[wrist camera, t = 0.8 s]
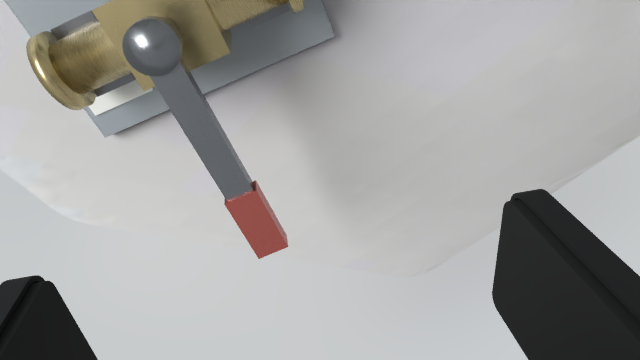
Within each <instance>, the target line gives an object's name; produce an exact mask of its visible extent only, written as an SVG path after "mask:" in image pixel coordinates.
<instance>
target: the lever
mask: <svg viewBox="0 0 640 360" xmlns="http://www.w3.org/2000/svg"><path fill="white" fill-rule="evenodd" d="M122 48H123V53H124V55H125V58H126V59H127V61H128V63H129V64H130V65H131V66H132V67H133V68H134V69H135V70H137V71H138V72H140V73H142V74H144V75H148V76H150V78H151V80H152V81H153V83H154V84H155V86H156V88H157V89H158V91H159V92H160V94H161V96H162V97H163V99H164V100H165V102H166V104H167V105H168V107H169V108H170V110H171V112H172V113H173V115H174V117H175V118H176V120H177V121H178V123H179V125H180V126H181V128H182V129H183V131H184V133H185V134H186V136H187V137H188V139H189V141H190V142H191V144H192V145H193V147H194V149H195V150H196V152H197V153H198V155H199V157H200V158H201V160H202V162H203V163H204V165H205V166H206V168H207V170H208V171H209V173H210V174H211V176H212V178H213V179H214V181H215V182H216V184H217V186H218V187H219V189H220V190H221V192H222V194H223V195H224V197H225V206H226V207H227V209H228V210H229V212H230V214H231V215H232V217H233V218H234V220H235V222H236V223H237V225H238V226H239V228H240V230H241V231H242V233H243V234H244V236H245V237H246V239H247V241H248V242H249V244H250V245H251V247H252V249H253V250H254V252H255V253H256V255H257V257H258V258H259V259H260V258H262V257H264V256H267V255H269V254H272V253H274V252H276V251H279V250H281V249H284V248H286V247H288V242H287V235H286V233H285V232H284V230H283V228H282V226H281V224H280V223H279V221H278V219H277V217H276V216H275V214H274V212H273V210H272V208H271V207H270V205H269V203H268V201H267V200H266V198H265V196H264V194H263V192H262V191H261V189H260V187H259V185H258V183H257V182H256V181H253V182H252V180H251V178H250V176H249V175H248V173H247V171H246V169H245V168H244V166H243V164H242V162H241V161H240V159H239V157H238V155H237V154H236V152H235V150H234V148H233V146H232V145H231V143H230V141H229V139H228V138H227V136H226V134H225V132H224V131H223V129H222V127H221V125H220V123H219V122H218V120H217V118H216V116H215V115H214V113H213V111H212V109H211V108H210V106H209V104H208V102H207V101H206V99H205V97H204V95H203V93H202V92H201V90H200V88H199V86H198V85H197V83H196V81H195V79H194V78H193V76H192V74H191V72H190V71H189V69H188V67H187V65H186V63H185V62H184V60H183V58H182V56H181V55H182V52H183V40H182V37H181V35H180V33H179V31H178V29H177V28H176V27H175V26H174V25H173V24H172V23H171V22H169V21H168V20H166V19H164V18H161V17H157V16H147V17H143V18H141V19H139V20H138V21H136V22H135V23H134V24H133V25H132V26H131V27H130V28H129V29H128V30H127V31H126V33H125V35H124V37H123V42H122Z"/></svg>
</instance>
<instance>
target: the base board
mask: <svg viewBox="0 0 640 360" xmlns="http://www.w3.org/2000/svg"><path fill="white" fill-rule="evenodd" d="M4 1H5V2H6V4H7V5H8V6H9V8H10V9H11V11H12V12H13V13H14V15H15V16H16V17H17V19H18V20H19V21H20V23H21V24H22V25H23V27H24V28H25V29H26V31H27V32H28V34H29V35H30V36H31V37H33V36H35V35H37V34H39V33H41V32H44V31H49V32H51V31H50V30H51V29H53V28H55V27H57V26H59V25H60V24H62V23H64V22H66V21H69V20H71V19H73V18H75V17H77V16H79V15H82V14H84V13H86V12H88V11H90V10H92V9H95V8H97V7H99V6H101V5H103V4H105V3H106V2H108V1H110V0H4ZM303 2H304V6H305V9H304V10H302V11H300V12H298V13H295V14H293V12H292V10H291V7H290V5H289V3H287V4H288V6H289V8H290V11H288V12H286V13H284V14H282V15H279V16H277V17H275V18H273V19H270V20H268V21H266V22H264V23H261V24H259V25H257V26H255V27H253V28H250V25H249V23H248V21H246V22H244V23H242V24H239V25H237V26H235V27H233V28H230V29H229V30H230V32H231V34H232V43H231V53H229V54H227V55H224V56H222V57H220V58H218V59H216V60H213V61H211V62H209V63H207V64H204V65H202V66H200V67H198V68H195V69H193V70H191V71H190V72H191V74H192V76H193V78H194V79H195V81H196V83H197V85H198V86H199V88H200V90H201V92H202V93H203V94H205V93H208V92H210V91H212V90H214V89H217V88H219V87H221V86H223V85H226V84H228V83H230V82H233V81H235V80H237V79H239V78H242V77H244V76H246V75H248V74H251V73H253V72H255V71H257V70H260V69H262V68H264V67H267V66H269V65H271V64H273V63H276V62H278V61H280V60H282V59H285V58H287V57H289V56H291V55H294V54H296V53H298V52H301V51H303V50H305V49H307V48H310V47H312V46H314V45H316V44H319V43H321V42H323V41H325V40H328V39H330V38H332V37H335V35H334V33H333V30H332V27H331V24H330V22H329V19H328V16H327V13H326V11H325V8H324V5H323V2H322V0H303ZM84 109H85V111H86V112H87V114H88V115H89V116H90V118H91V119H92V120H93V122H94V123H95V124H96V126H97V127H98V128H99V130H100V131H101V132H102V134H103V135H104V137H105V138H106V137H108V136H110V135H112V134H115V133H117V132H119V131H121V130H124V129H126V128H128V127H130V126H133V125H135V124H137V123H140V122H142V121H144V120H146V119H149V118H151V117H153V116H155V115H158V114H160V113H162V112H164V111H167V110H169V109H170V108H169V107H168V105H167V104H166V102H165V100H164V99H163V97H162V96H161V94H160V92H159V91H158V89H157V88H156V86H155V87H153V88H150V89H148V90H146V91H143V90H142V88H141V86H140V85H139V83H138V82H137V80H134V81H132V82H130V83H128V84H125V85H123V86H121V87H119V88H116V89H114V90H112V91H110V92H107V93H105V94H103V95H101V96H99V97H97V96H96V98H95V101H94V103H93V104H92V105H90V106H87V107H85V108H84Z"/></svg>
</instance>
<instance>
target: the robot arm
mask: <svg viewBox="0 0 640 360" xmlns="http://www.w3.org/2000/svg"><path fill="white" fill-rule="evenodd" d="M492 295H493V301H494V304H495V307H496V309H497V311H498V312H499V314H500V315H501V317H502V318H503V320H504V322H505V323H506V325H507V326H508V328H509V329H510V331H511V333H512V334H513V336H514V337H515V339H516V340H517V342H518V344H519V345H520V347H521V348H522V350H523V352H524V353H525V355H526V356H527V358H528V360H640V276H639V275H638V274H636V273H635V272H634V271H633V270H632V269H631V268H630V267H629V266H628V265H627V264H625V263H624V262H623V261H622V260H621V259H620V258H619V257H618V256H617V255H616V254H615V253H613V252H612V251H611V250H610V249H609V248H608V247H607V246H606V245H605V244H604V243H603V242H602V241H600V240H599V239H598V238H597V237H596V236H595V235H594V234H593V233H592V232H590V230H588V229H587V228H586V227H585V226H584V225H583V224H582V223H581V222H580V221H579V220H577V219H576V218H575V217H574V216H573V215H572V214H571V213H570V212H569V211H568V210H567V209H566V208H564V207H563V206H562V205H561V204H560V203H559V202H558V201H557V200H556V199H554V197H552V196H551V195H550V194H549V193H548V192H547V191H545V190H543V189H538V190H532V191H526V192H520V193H515V194H513V196H512V197H511V200H510V201H508V202H506V203H505V204H504V208H503V215H502V223H501V230H500V238H499V245H498V253H497V261H496V269H495V276H494V283H493V291H492ZM0 360H97V358H96V356H95V354H94V352H93V351H92V349H91V347H90V346H89V344H88V342H87V340H86V339H85V337H84V335H83V333H82V332H81V330H80V328H79V327H78V325H77V323H76V321H75V320H74V318H73V316H72V315H71V313H70V311H69V309H68V308H67V306H66V304H65V303H64V301H63V299H62V297H61V296H60V294H59V292H58V291H57V289H56V287H55V286H54V284H53V283H52V282H50V281H45V280H44V279H43V278H42V277H40V276H29V277H24V278H18V279H12V280H7V281H5V282H3V283H2V284H1V285H0Z"/></svg>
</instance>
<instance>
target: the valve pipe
mask: <svg viewBox="0 0 640 360" xmlns="http://www.w3.org/2000/svg"><path fill="white" fill-rule="evenodd" d="M287 3H289V5H290V7H291V10H292V12H293V14H295V13H298V12H300V11H302V10H304V9H305V6H304V2H303V0H110V1H108V2H106V3H105V4H103V5H101V6H99V7H97V8H95V9H92V10H90V11H88V12H86V13H84V14H82V15H79V16H77V17H75V18H73V19H71V20H69V21H66V22H64V23H62V24H60V25H59V26H57V27H55V28H53V29H51V30H50V31H51V32H49V31H44V32H41V33H39V34H37V35H35V36H33V37H31V38H29V40H28V42H27V47H26V48H27V55H28V59H29V62H30V64H31V67H32V69H33V71H34V73H35V74H36V76H37V78H38V79H39V81H40V82H41V84H42V85H43V86H44V88H45V89H46V90H47V91H48V92H49V93H50V95H51V96H52V97H54V98H55V99H56V100H57V101H58V102H59V103H61V104H62V105H64V106H65V107H67V108H69V109H72V110H81V109H83V108H85V107H87V106H90V105H92V104H93V103H94V101H95V98H96V96H97V97H99V96H101V95H103V94H105V93H107V92H110V91H112V90H114V89H116V88H119V87H121V86H123V85H125V84H128V83H130V82H132V81H134V80H137V82H138V83H139V85H140V86H141V88H142V90H143V91H146V90H148V89H150V88H153V87H155V84H154V83H153V81H152V80H151V78H150V76H148V75H144V74H142V73H140V72H138V71H137V70H135V69H134V68H133V67H132V66H131V65H130V64H129V63H128V61H127V59H126V58H125V55H124V53H123V48H122V42H123V37H124V35H125V33H126V31H127V30H128V29H129V28H130V27H131V26H132V25H133V24H134V23H135V22H136V21H138V20H139V19H141V18H143V17H147V16H157V17H161V18H164V19H166V20H168V21H169V22H171V23H172V24H173V25H174V26H175V27H176V28H177V29H178V31H179V33H180V35H181V37H182V40H183V52H182V55H181V56H182V58H183V60H184V62H185V63H186V65H187V67H188V69H189V71H191V70H193V69H195V68H198V67H200V66H202V65H204V64H207V63H209V62H211V61H213V60H216V59H218V58H220V57H222V56H224V55H227V54H229V53H231V43H232V34H231V32H230V30H229V29H230V28H233V27H235V26H237V25H239V24H242V23H244V22H246V21H248V23H249V25H250V28H253V27H255V26H257V25H259V24H261V23H264V22H266V21H268V20H270V19H273V18H275V17H277V16H279V15H282V14H284V13H286V12H288V11H290V8H289V6H288V4H287Z"/></svg>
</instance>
